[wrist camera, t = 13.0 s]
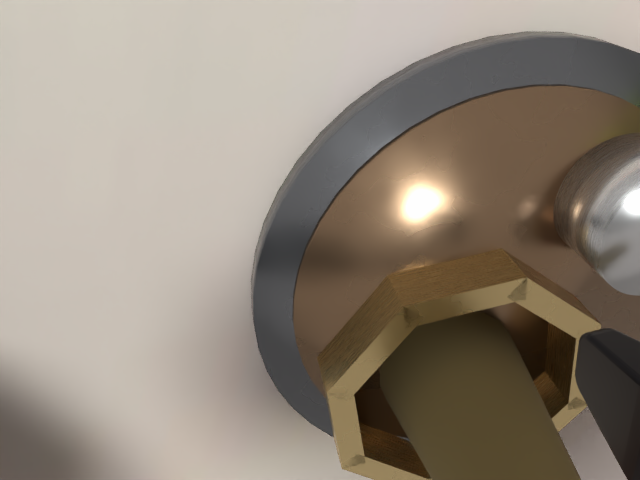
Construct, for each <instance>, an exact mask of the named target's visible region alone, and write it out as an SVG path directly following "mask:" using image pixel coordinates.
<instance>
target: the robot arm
mask: <svg viewBox="0 0 640 480" xmlns="http://www.w3.org/2000/svg"><path fill="white" fill-rule="evenodd" d="M575 379H576V383H577V386H578V389H579V391H580V393H581V394H582V396H583V398H584V400H585V402H586V404H587V406H588V407H589V409H590V411H591V413H592V415H593V417H594V419H595V420H596V422H597V424H598V426H599V428H600V430H601V432H602V433H603V435H604V437H605V439H606V441H607V443H608V445H609V446H610V448H611V450H612V452H613V454H614V456H615V458H616V459H617V461H618V463H619V465H620V467H621V469H622V470H623V472H624V474H625V476H626V477H627V479H628V480H640V341H638V340H636V339H634V338H632V337H630V336H628V335H626V334H623V333H621V332H619V331H617V330H615V329H611V328H603V329H599V330H595V331H591V332H587V333H584V334H582V336H581V337H580V339H579V344H578V352H577V360H576V368H575Z"/></svg>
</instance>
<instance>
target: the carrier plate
mask: <svg viewBox="0 0 640 480" xmlns="http://www.w3.org/2000/svg"><path fill="white" fill-rule="evenodd" d="M251 299H252V313H253V320H254V326H255V332H256V337H257V342H258V348H259V351H260V353H261V356H262V359H263V361H264V364H265V367H266V369H267V372H268V373H269V375H270V377H271V379H272V380H273V382H274V384H275V385H276V387H277V389H278V390H279V392H280V393H281V394H282V395H283V397H284V398H285V399H286V400H287V401H288V403H289V404H290V405H291V406H292V407H293V408H294V409H295V410H296V411H297V412H298V413H299V414H300V415H302V416H303V417H304V418H305V419H306V420H307V421H309V422H310V423H311V424H313V425H314V426H316V427H317V428H319V429H321V430H322V431H324V432H326V433H327V434H329V435H330V436H333V437H334V440H335V443H336V447H337V451H338V455H339V459H340V463H341V467H342V469H344V470H347V471H350V472H353V473H356V474H359V475H362V476H365V477H368V478H371V479H374V480H432V478H431V477H430V475H429V473H428V471H427V470H426V468H425V466H424V464H423V463H422V461H421V459H420V458H419V456H418V454H417V452H416V451H415V449H414V447H413V445H412V444H411V442H410V440H409V438H408V437H407V435H406V433H405V431H404V430H403V428H402V426H401V425H400V423H399V421H398V419H397V418H396V416H395V414H394V412H393V411H392V409H391V407H390V405H389V404H388V402H387V400H386V398H385V396H384V394H383V391H382V389H381V387H380V368H381V366H382V363H383V362H384V361H385V360H386V359H387V358H388V357H389V356H390V355H391V353H392V352H393V351H394V350H395V349H396V348H397V347H398V346H399V345H400V344H401V342H402V341H403V340H404V339H405V338H406V337H407V336H408V335H409V334H410V333H411V332H412V330H413V329H414V328H415V327H416V326H418V325H422V324H427V323H431V322H435V321H439V320H443V319H447V318H451V317H455V316H459V315H463V314H468V313H472V312H482V313H485V314H487V315H489V316H491V317H493V318H495V319H497V320H499V321H500V322H501V323H502V324H503V325H504V327H505V328H506V329H507V330H508V331H509V333H510V335H511V337H512V339H513V341H514V343H515V345H516V347H517V349H518V351H519V353H520V355H521V357H522V359H523V361H524V363H525V365H526V367H527V370H528V372H529V374H530V376H531V378H532V380H533V382H534V384H535V386H536V388H537V390H538V392H539V394H540V396H541V398H542V400H543V402H544V405H545V407H546V409H547V411H548V413H549V415H550V417H551V419H552V421H553V423H554V425H555V427H556V429H557V431H558V432H559V431H560V430H561V429H562V428H564V427H565V426H566V425H567V424H568V423H569V422H570V421H571V420H572V419H574V418H575V417H576V416H577V415H578V414H579V413H580V412H581V411H583V410H584V409H585V408H586V407H587V404H586V402H585V400H584V398H583V396H582V394H581V393H580V391H579V389H578V386H577V383H576V379H575V368H576V360H577V352H578V344H579V339H580V337H581V336H582V334H584V333H587V332H591V331H595V330H599V329H603V328H611V329H615V330H617V331H619V332H621V333H623V334H626V335H628V336H630V337H632V338H634V339H636V340H638V341H640V53H637V52H634V51H632V50H629V49H626V48H623V47H620V46H618V45H615V44H612V43H609V42H606V41H603V40H600V39H598V38H595V37H589V36H583V35H577V34H571V33H565V32H519V33H512V34H505V35H497V36H490V37H486V38H482V39H479V40H475V41H471V42H468V43H464V44H461V45H457V46H453V47H450V48H448V49H446V50H443V51H441V52H438V53H436V54H434V55H431V56H429V57H427V58H424V59H422V60H419V61H417V62H415V63H413V64H411V65H410V66H408V67H406V68H404V69H403V70H401V71H399V72H397V73H396V74H394V75H392V76H390V77H389V78H387V79H385V80H383V81H382V82H380V83H379V84H377V85H376V86H375V87H373V88H372V89H371V90H369V91H368V92H366V93H365V94H364V95H362V96H361V97H360V98H358V99H357V100H356V101H354V102H353V103H352V104H350V105H349V106H348V107H347V108H346V109H345V110H344V111H343V112H342V113H340V114H339V115H338V116H337V117H336V118H335V119H334V120H333V121H332V122H331V123H330V124H329V125H328V126H327V127H326V128H325V129H324V130H323V131H322V132H320V134H319V135H318V136H317V137H316V139H315V140H314V141H313V142H312V143H311V145H310V146H309V147H308V148H307V149H306V151H305V152H304V153H303V154H302V156H301V157H300V158H299V159H298V160H297V162H296V163H295V165H294V167H293V168H292V170H291V171H290V173H289V174H288V176H287V178H286V179H285V181H284V182H283V184H282V186H281V187H280V189H279V190H278V192H277V194H276V197H275V199H274V201H273V203H272V205H271V207H270V210H269V212H268V214H267V216H266V218H265V221H264V223H263V227H262V230H261V234H260V237H259V240H258V244H257V247H256V250H255V256H254V263H253V271H252V278H251Z"/></svg>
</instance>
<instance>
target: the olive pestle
mask: <svg viewBox="0 0 640 480" xmlns="http://www.w3.org/2000/svg"><path fill="white" fill-rule="evenodd" d="M380 387H381V389H382V391H383V394H384V396H385V398H386V400H387V402H388V404H389V405H390V407H391V409H392V411H393V412H394V414H395V416H396V418H397V419H398V421H399V423H400V425H401V426H402V428H403V430H404V431H405V433H406V435H407V437H408V438H409V440H410V442H411V444H412V445H413V447H414V449H415V451H416V452H417V454H418V456H419V458H420V459H421V461H422V463H423V464H424V466H425V468H426V470H427V471H428V473H429V475H430V477H431V478H432V480H581V479H580V477H579V474H578V472H577V470H576V468H575V466H574V464H573V462H572V460H571V458H570V456H569V454H568V452H567V450H566V448H565V446H564V444H563V442H562V439H561V437H560V435H559V433H558V431H557V429H556V427H555V425H554V423H553V421H552V419H551V417H550V415H549V413H548V411H547V409H546V407H545V405H544V402H543V400H542V398H541V396H540V394H539V392H538V390H537V388H536V386H535V384H534V382H533V380H532V378H531V376H530V374H529V372H528V370H527V367H526V365H525V363H524V361H523V359H522V357H521V355H520V353H519V351H518V349H517V347H516V345H515V343H514V341H513V339H512V337H511V335H510V333H509V331H508V330H507V329H506V328H505V327H504V325H503V324H502V323H501V322H500V321H499V320H497V319H495V318H493V317H491V316H489V315H487V314H485V313H482V312H472V313H468V314H463V315H459V316H455V317H451V318H447V319H443V320H439V321H435V322H431V323H427V324H422V325H418V326H416V327H415V328H414V329H413V330H412V332H411V333H410V334H409V335H408V336H407V337H406V338H405V339H404V340H403V341H402V342H401V344H400V345H399V346H398V347H397V348H396V349H395V350H394V351H393V352H392V353H391V355H390V356H389V357H388V358H387V359H386V360H385V361H384V362H383V363H382V366H381V368H380Z"/></svg>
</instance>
